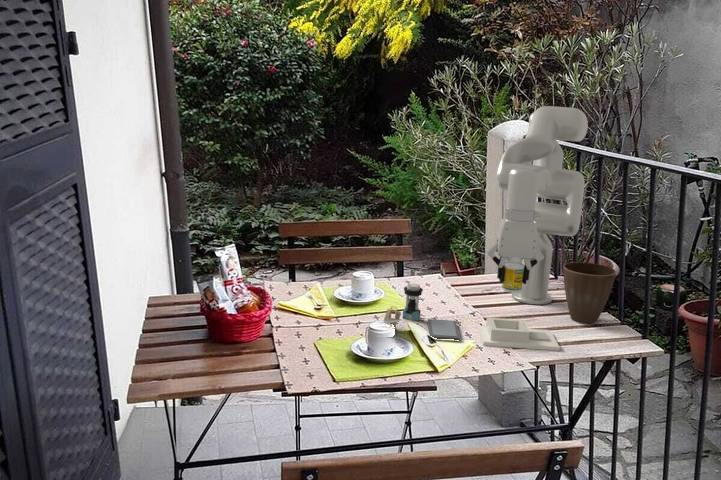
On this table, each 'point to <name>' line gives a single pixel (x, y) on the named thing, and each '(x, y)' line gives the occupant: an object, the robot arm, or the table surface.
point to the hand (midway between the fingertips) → (512, 281)
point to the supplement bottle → (513, 275)
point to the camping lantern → (412, 302)
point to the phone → (443, 329)
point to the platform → (388, 316)
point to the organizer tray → (515, 335)
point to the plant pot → (587, 290)
